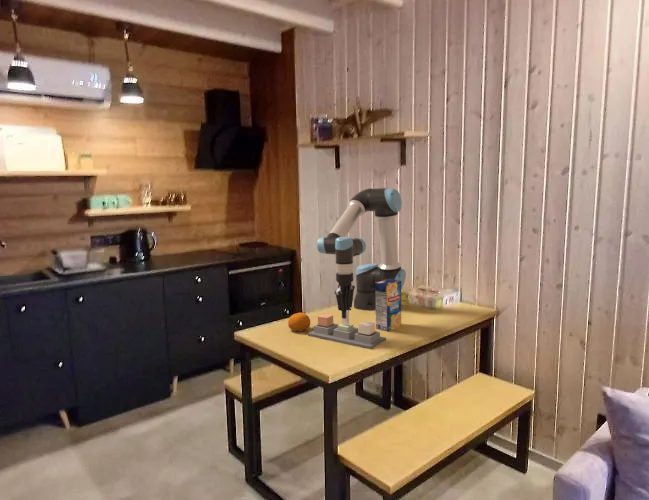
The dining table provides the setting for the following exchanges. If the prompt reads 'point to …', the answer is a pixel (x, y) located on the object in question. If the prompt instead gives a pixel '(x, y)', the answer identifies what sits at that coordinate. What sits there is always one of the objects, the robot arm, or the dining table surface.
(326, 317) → the button terracotta
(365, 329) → the button ivory
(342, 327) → the button sage
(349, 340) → the button board
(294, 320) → the fruit
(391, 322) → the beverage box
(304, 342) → the dining table surface
